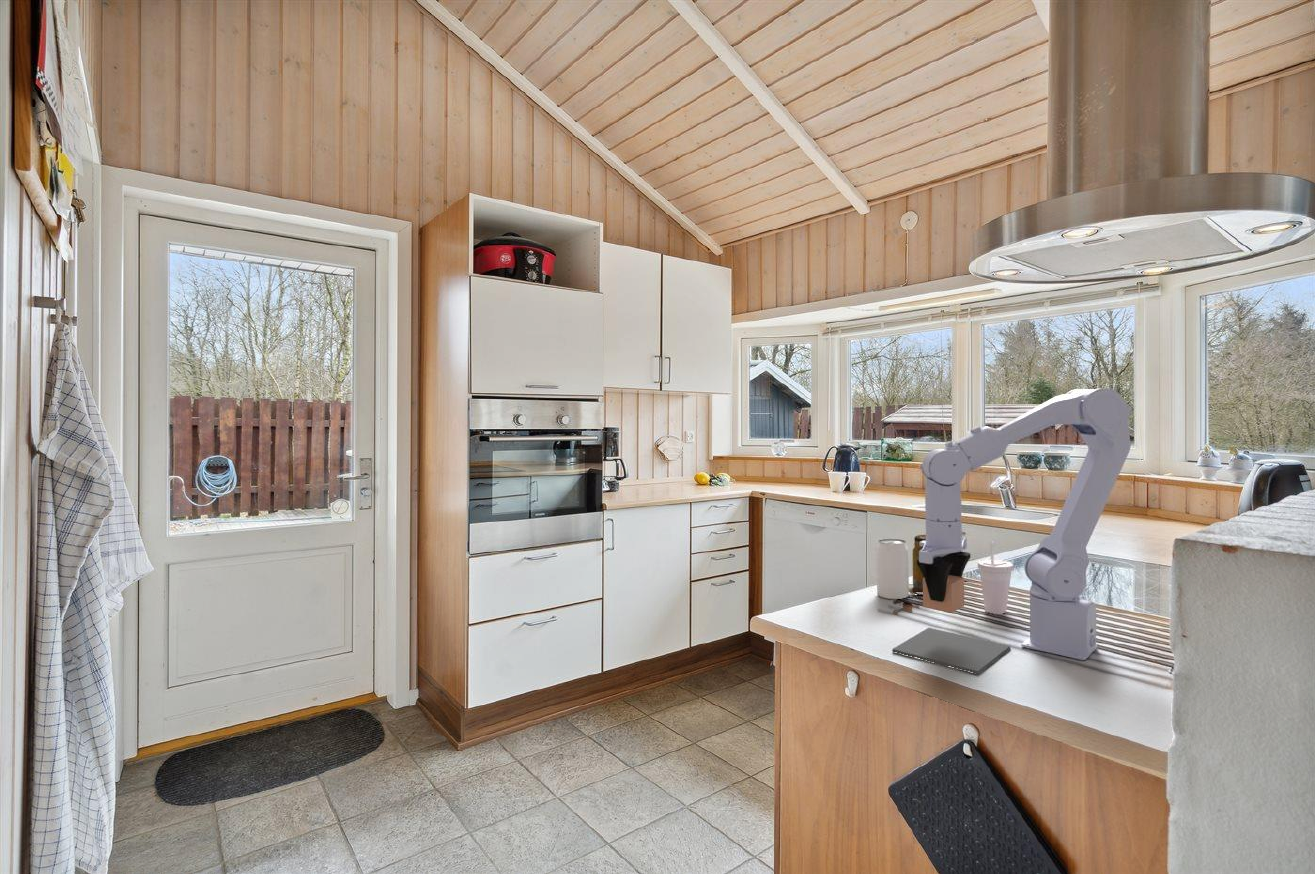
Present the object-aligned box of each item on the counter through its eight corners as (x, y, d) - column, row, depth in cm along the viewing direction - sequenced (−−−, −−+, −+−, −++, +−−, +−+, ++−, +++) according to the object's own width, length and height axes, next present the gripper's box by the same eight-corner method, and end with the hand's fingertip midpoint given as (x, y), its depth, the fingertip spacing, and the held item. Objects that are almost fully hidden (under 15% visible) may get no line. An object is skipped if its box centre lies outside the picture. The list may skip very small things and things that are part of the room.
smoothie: (972, 606, 137) (971, 538, 136) (1004, 605, 137) (1004, 537, 136) (986, 616, 130) (985, 545, 130) (1020, 616, 130) (1019, 544, 129)
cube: (964, 605, 117) (964, 577, 117) (952, 612, 113) (951, 583, 113) (935, 600, 120) (935, 572, 120) (923, 606, 117) (922, 578, 117)
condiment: (941, 586, 152) (940, 533, 151) (948, 597, 144) (948, 541, 143) (907, 585, 153) (906, 533, 153) (912, 596, 145) (911, 541, 145)
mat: (1010, 649, 114) (1010, 645, 114) (977, 674, 104) (977, 670, 104) (928, 630, 124) (928, 627, 124) (892, 652, 114) (892, 648, 114)
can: (913, 599, 143) (912, 543, 142) (882, 600, 143) (881, 544, 142) (902, 591, 149) (902, 537, 148) (873, 591, 149) (872, 538, 148)
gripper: (938, 510, 124) (939, 583, 125) (901, 522, 114) (902, 601, 115) (978, 514, 119) (979, 590, 119) (942, 527, 109) (943, 610, 110)
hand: (944, 596), depth 117 cm, fingers closed on cube, 5 cm apart
